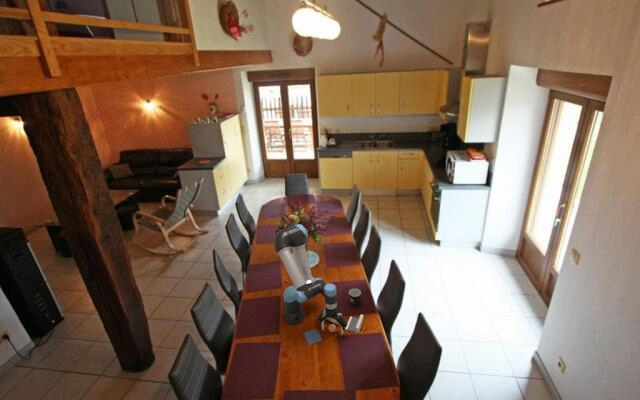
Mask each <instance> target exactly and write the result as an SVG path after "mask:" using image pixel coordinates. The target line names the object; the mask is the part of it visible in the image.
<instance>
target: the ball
mask: <svg viewBox="0 0 640 400" xmlns="http://www.w3.org/2000/svg"><path fill="white" fill-rule="evenodd" d="M336 330H337V327H336V324H334V323H332V324H331V323H330V324H329V325H328V331H329V332H331V333H334V332H336Z"/></svg>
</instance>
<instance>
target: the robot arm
mask: <svg viewBox="0 0 640 400" xmlns="http://www.w3.org/2000/svg"><path fill="white" fill-rule="evenodd" d="M308 238H309V234H308V231H307V229H306V228H305V227H304V225H303V224H300V223H299V224H293V225H292V226H289V227H286V228H284V229H281V230H279V231H277V233H276V235H275V237H274V240H273V241H274V242H273V245H274V246H273V247H274V250H275V252H276V254H277V256H278V255H279V257H280V259H281V262H282V264H283V266H284V268H285V270H286V272H287V273H288V275H289V278H290V280H291V282H292V284H293V285H290V286H287V288H286V287H285V289H284V290H283V302H284V312H283V319H284V322H285V323H287V324H288V325H298V324H300V323H302V322H303V321H304V320H305V319H306V313H305V310H304V308H303V305H302V304H304V303H307V301H310V300H312V299H314V298H316V297H317V296H318V295H320V294H321V296H323V297H324V304H325V306H324V308H326V310H324V308H322V310H321V311H320V314H319V316H318V317H317V320H316V321H318V322H319V323H320V326H321V330H322V331H324V329H325V322H324V320H325V319H326V318H328V317H329V318H332V319H335V320H336V321H337V322H338V323H339V325H340V334H341V336H343V335H344V332H345V331H346V327H347V325H348V321H347V320H346V319H345V317H344V314H343V312H339V313H338V301H337V300H338V299H337V295H338V293H337V287H336V285H335V284H334V283H327V282H326V281H325V280H324V279H322V278H321V277H316V278H315V277H314V276H312V272H311V267H310V266H311V265H310V262H309V258H308V255H307V249H306V246H305V245H306V244H307V239H308ZM290 249H292V251H293V254H292V252H291V250H290ZM293 255H294V256H293ZM324 313H326V315H325V316H324V317H322V318H321V316H322V315H323V314H324ZM339 317H340V318H339ZM326 320H327V319H326ZM326 320H325V321H326Z"/></svg>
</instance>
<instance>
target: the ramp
mask: <svg viewBox="0 0 640 400" xmlns="http://www.w3.org/2000/svg"><path fill="white" fill-rule="evenodd" d="M323 309H324V310H326V308H325V307H323ZM325 315H326V313H324V314H323V315H322V316H321V318H322V317H324V316H325ZM339 318H340V317H339ZM326 320H327V321H328V322H331V323H332V324H334V325H335V326H336V325H337V326H339V325H340V324H339V323H338V322H337V321H336V320H335V319H332V318H329V317H328V318H326V319H325V320H324V323H325V322H326Z"/></svg>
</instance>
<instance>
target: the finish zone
mask: <svg viewBox="0 0 640 400" xmlns="http://www.w3.org/2000/svg"><path fill="white" fill-rule="evenodd" d="M363 323H364V314H360V316H359V318H358V317H354V316H350V317H349V319H348V321H347V324H348V325H347V327H345V331H346V330H347V331H351V332H355V333H356V334H359V333H360V331H361V328H362V325H363Z"/></svg>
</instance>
